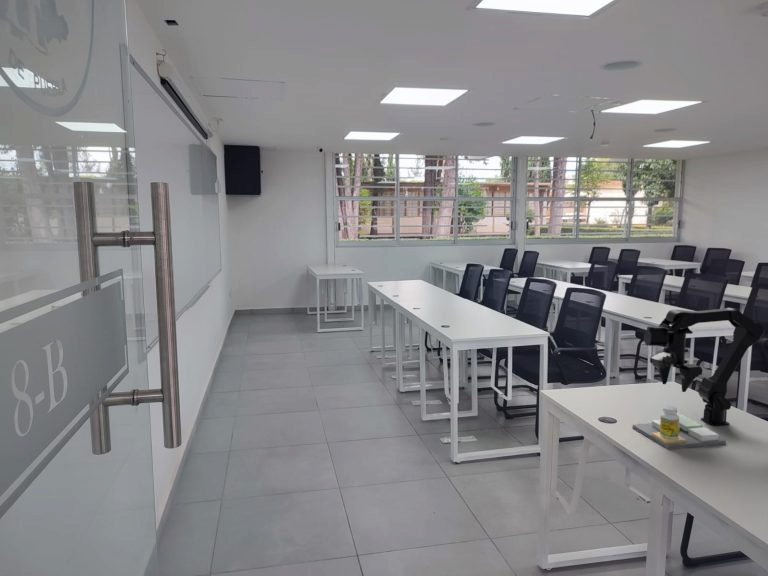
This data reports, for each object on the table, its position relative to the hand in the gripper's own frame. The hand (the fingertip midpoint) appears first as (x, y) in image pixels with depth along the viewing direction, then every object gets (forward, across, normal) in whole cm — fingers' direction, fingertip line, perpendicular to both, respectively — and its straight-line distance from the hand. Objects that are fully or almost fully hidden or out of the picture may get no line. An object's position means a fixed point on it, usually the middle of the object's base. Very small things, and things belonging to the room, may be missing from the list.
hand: (673, 387), depth 188 cm
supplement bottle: (+11, +14, -14) cm, 23 cm away
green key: (+12, +6, -2) cm, 14 cm away
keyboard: (+13, +11, -7) cm, 18 cm away
